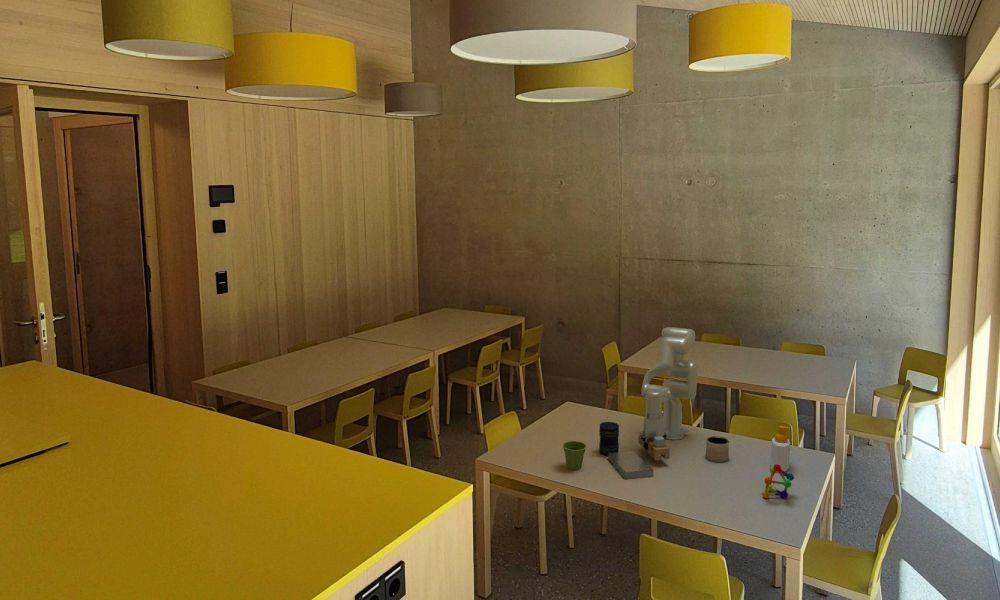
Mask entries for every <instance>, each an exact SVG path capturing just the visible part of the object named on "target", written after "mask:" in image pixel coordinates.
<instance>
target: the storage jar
mask: <svg viewBox="0 0 1000 600" xmlns="http://www.w3.org/2000/svg"><path fill="white" fill-rule="evenodd" d="M619 427H620V424H618V423H617V422H613V421H604V422H600V424H599V430H598V432H599V434H598V435H599V445H598V446H599V447H598V448H599V455H600V456H602V455H603V457H607V458H608V453H616V452H619V448H620V446H619V436H620V435H619V434H620V428H619Z"/></svg>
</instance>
